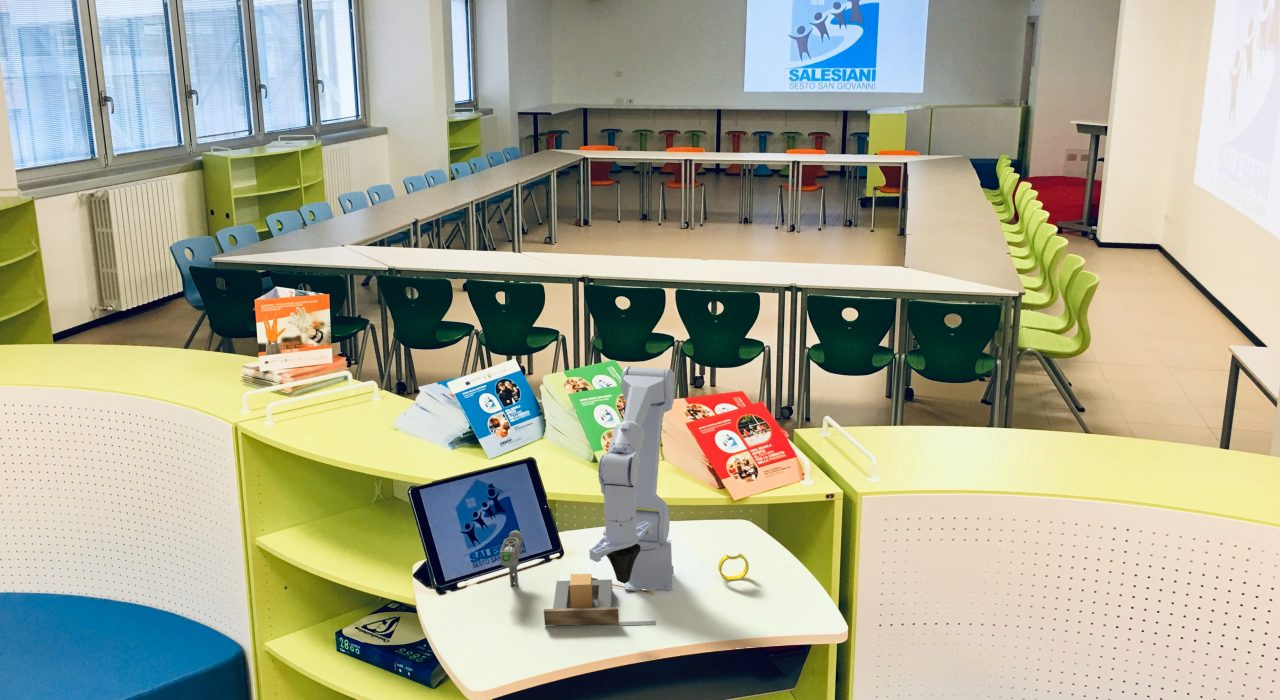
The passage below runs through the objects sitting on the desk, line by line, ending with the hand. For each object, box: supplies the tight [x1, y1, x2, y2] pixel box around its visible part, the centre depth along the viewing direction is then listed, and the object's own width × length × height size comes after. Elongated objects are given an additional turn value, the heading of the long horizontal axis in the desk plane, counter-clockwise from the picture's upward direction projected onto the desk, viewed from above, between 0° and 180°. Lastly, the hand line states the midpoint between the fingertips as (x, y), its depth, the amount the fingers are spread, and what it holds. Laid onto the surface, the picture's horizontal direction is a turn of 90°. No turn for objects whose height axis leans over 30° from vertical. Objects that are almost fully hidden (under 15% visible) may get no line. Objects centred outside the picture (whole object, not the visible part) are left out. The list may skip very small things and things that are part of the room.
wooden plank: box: [543, 606, 620, 626], centre depth 206 cm, size 14×1×3 cm, turn 90°
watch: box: [717, 549, 750, 582], centre depth 220 cm, size 6×3×6 cm, turn 99°
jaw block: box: [569, 573, 593, 608], centre depth 211 cm, size 4×4×6 cm
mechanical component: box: [499, 529, 524, 587], centre depth 220 cm, size 3×10×10 cm, turn 174°
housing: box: [544, 579, 657, 629], centre depth 212 cm, size 21×13×3 cm, turn 90°
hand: (623, 580), depth 203 cm, fingers closed
